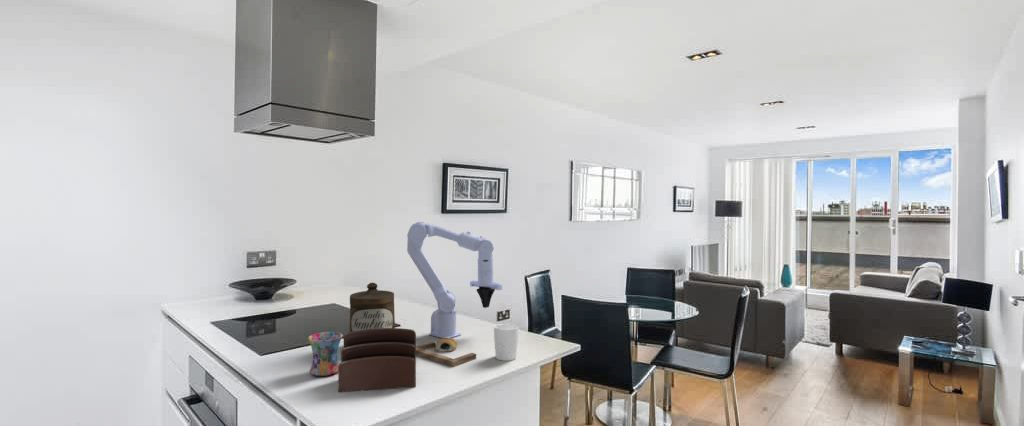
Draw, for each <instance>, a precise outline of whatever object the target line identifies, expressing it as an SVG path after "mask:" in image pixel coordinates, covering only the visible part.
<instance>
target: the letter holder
mask: <svg viewBox="0 0 1024 426" xmlns="http://www.w3.org/2000/svg"><path fill="white" fill-rule="evenodd" d="M342 338H343V348H342V350H341V351H340V362H339V366H338V372H337V373H338V380H337V381H338V382H337V388H338V389H337V390H338V391H337V392H338V393H344V392H345V391H348V392H361V390H364V391H374V390H375V391H376V390H390V389H403V388H404V389H405V388H416V386H417V376H416V375H417V357H416V356H417V355H416V346H417V343H416V342H417V333H416V331H415V330H414V329H408V328H398V327H397V328H396V327H395V328H378V329H366V330H358V331H353V332H350V331H349V332H346V333H344V334H343V336H342ZM342 391H344V392H342ZM345 393H346V392H345Z"/></svg>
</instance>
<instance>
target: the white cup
mask: <svg viewBox="0 0 1024 426" xmlns="http://www.w3.org/2000/svg"><path fill="white" fill-rule="evenodd" d="M519 327H520V326H519V325H517V324H513V323H498V324H495V325H494V326H493V332H494V333H493V336H494V337H493V340H494V352H495V359H497V360H498V361H503V362H508V361H514V360H516V359H517V356H518V355H517V354H518V344H519Z"/></svg>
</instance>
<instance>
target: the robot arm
mask: <svg viewBox="0 0 1024 426" xmlns="http://www.w3.org/2000/svg"><path fill="white" fill-rule="evenodd" d="M406 235H407V243H406V244H407V248H406V251H407V254H408V255H409V257H410V258H411V260H412V262H413V263H414V265H415V266H416V268H417V269H418V272H419V273H420V274H421V276H422V277H423V278H424V281H425V282H426V284H427V285H428V287H429V288H430V290H431V292H432V293H433V296H434V299H435V300H436V303H437V308H438V309H436V310H434V311H433V312H432V314H431V316H430V332H429V333H428V335H430V336H432V337H433V336H434V337H436V338H439V339H442V338H452V339H453V338H454V337H458V336H461V335H462V333H460V332H457V309H456V308H455V307H456V296H455V294H453V292H451V291H450V290H449V289H448V288H447V287H446V285H444V283H443V282H442V280H441V278H440V277H439V276H438V274H437V271H435V269H434V267H433V265H432V264H431V263H430V261H429V259H428V258H427V256H426V255H425V253H424V252H423V249H422V247H423V244H424V240H425V239H426V237H428V238H430V237H436V236H437V237H440V238H443V239H446V240H450V241H453V242H456V243H457V245H458V247H459V248H463V249H465V250H469V251H472V252H478V253H477V254H478V255H477V257H478V258H477V280H471V281H470V282H469V287H474V288H475V287H476V288H477V289H476V292H477V294H478V296H479V298H480V302H481V305H482V308H484V309H486V308H490V304H491V300H492V297H493V295H494V293H495V290H497V291H500V290H503V283H497V282H495V281H494V258H493V257H494V255H493V252H494V245H493V243H492V241H491V240H489V239H487V238H483V236H481V235H480V236H478V235H474V234H473V233H472V234H471V231H466V232H465V231H463V232H461V233H458V232H455V231H452V230H450V229H447V228H444V227H442V226H440V225H436V224H431V223H428V222H427V223H425V222H423V221H418V222H415V223H413V224H411V226H410V227H409V230H408V231H407V234H406Z"/></svg>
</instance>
